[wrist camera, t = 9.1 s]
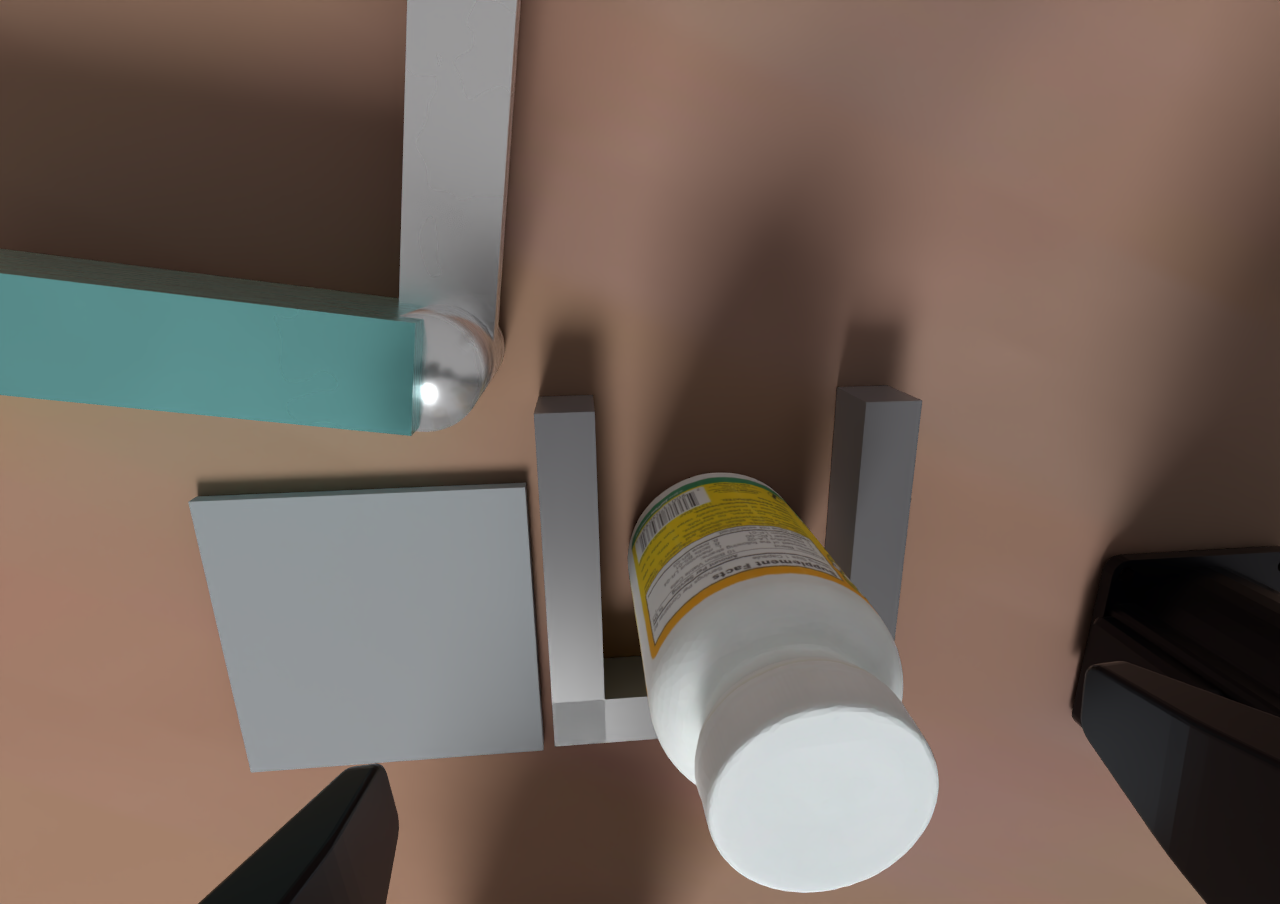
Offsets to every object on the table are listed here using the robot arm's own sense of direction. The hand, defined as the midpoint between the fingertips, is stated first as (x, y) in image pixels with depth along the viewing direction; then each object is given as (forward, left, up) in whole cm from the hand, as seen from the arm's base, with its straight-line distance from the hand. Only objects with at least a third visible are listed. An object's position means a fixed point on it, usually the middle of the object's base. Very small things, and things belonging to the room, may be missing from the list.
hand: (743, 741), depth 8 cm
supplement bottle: (-2, +3, -12) cm, 12 cm away
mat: (+8, +5, -11) cm, 15 cm away
